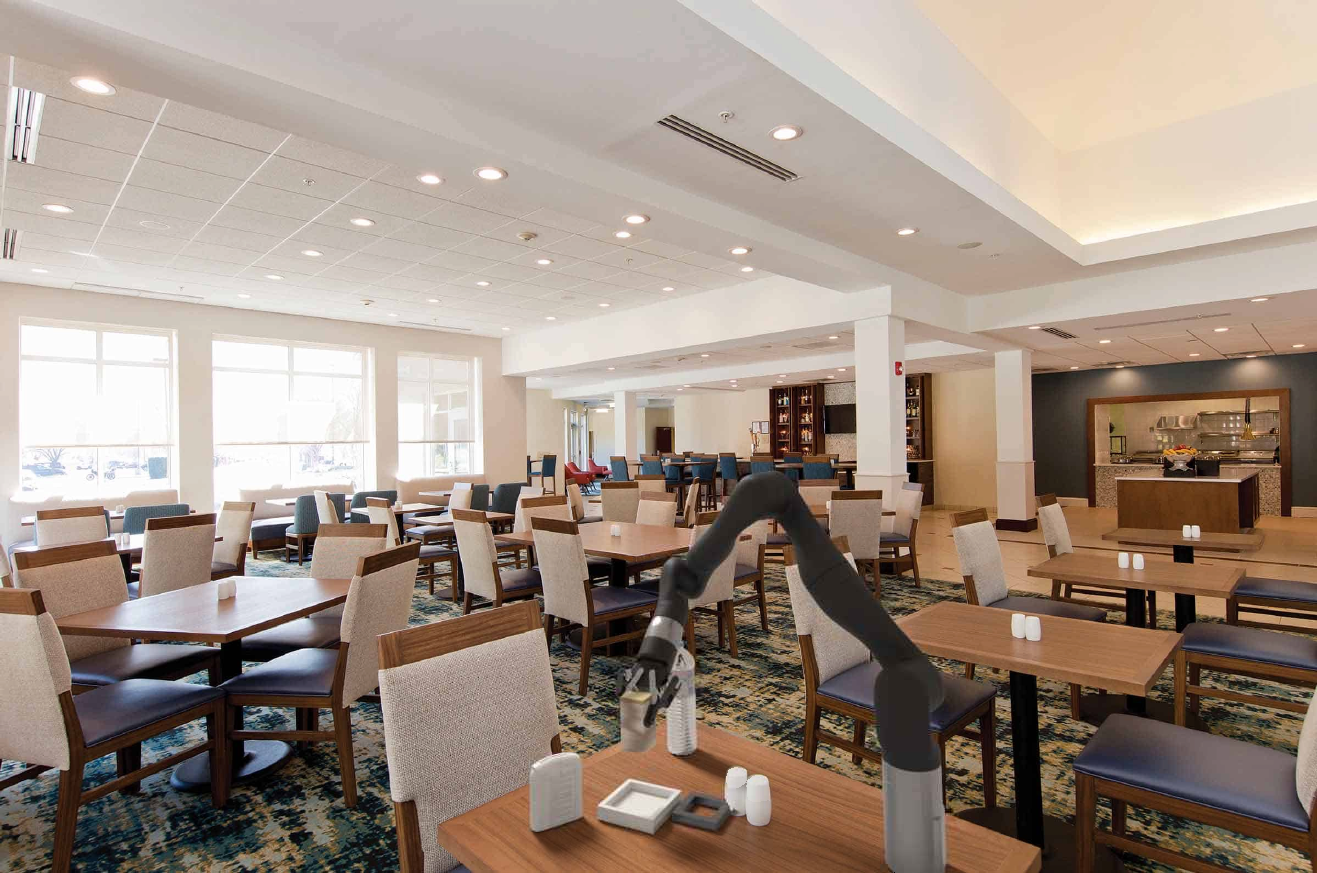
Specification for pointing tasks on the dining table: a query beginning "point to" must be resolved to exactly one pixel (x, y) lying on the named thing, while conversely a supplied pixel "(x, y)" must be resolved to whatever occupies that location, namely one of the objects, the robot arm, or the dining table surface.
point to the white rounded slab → (555, 791)
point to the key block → (636, 722)
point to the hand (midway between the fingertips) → (633, 723)
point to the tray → (639, 805)
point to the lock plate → (712, 824)
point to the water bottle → (683, 707)
